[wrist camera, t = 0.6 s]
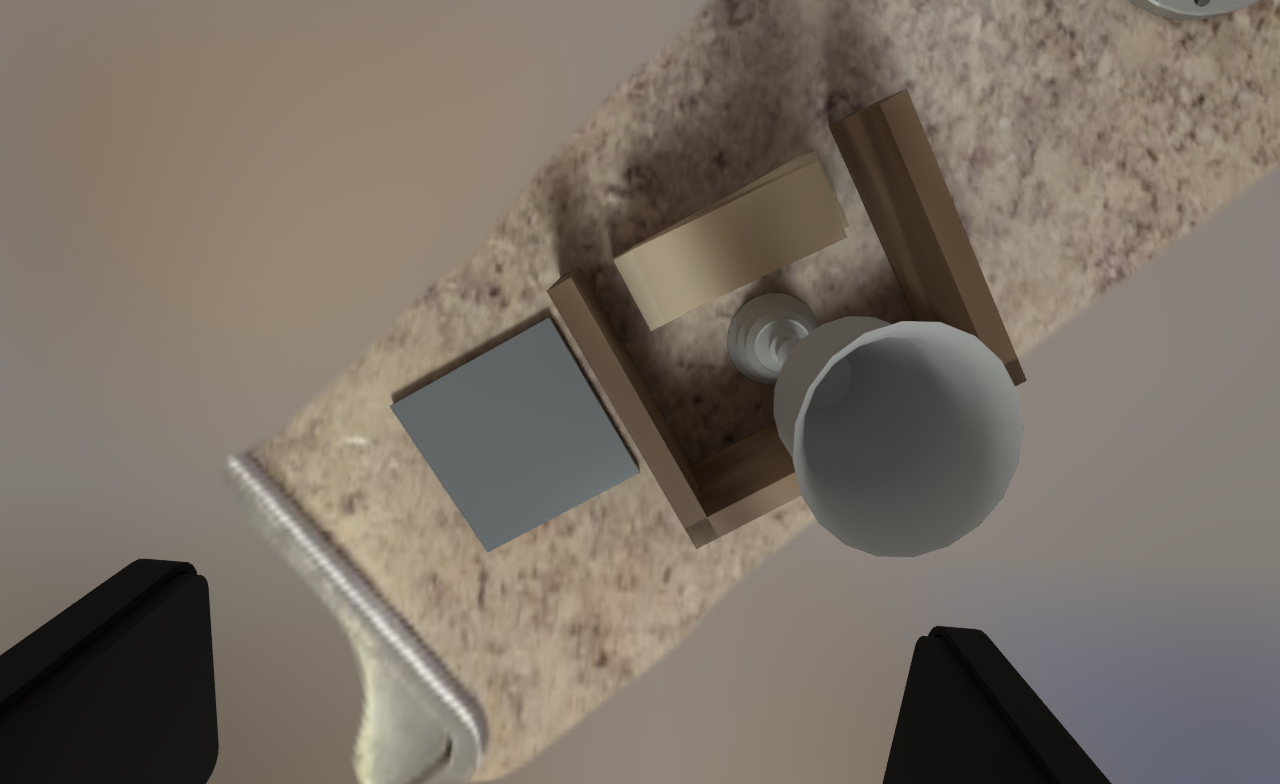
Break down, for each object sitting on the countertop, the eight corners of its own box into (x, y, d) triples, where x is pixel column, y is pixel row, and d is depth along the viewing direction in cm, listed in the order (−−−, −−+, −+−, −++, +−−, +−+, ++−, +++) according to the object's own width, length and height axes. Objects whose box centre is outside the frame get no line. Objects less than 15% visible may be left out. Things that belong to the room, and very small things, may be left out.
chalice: (703, 281, 37) (781, 338, 19) (830, 263, 37) (1023, 303, 19) (719, 411, 38) (803, 572, 21) (839, 394, 38) (1023, 541, 21)
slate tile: (550, 315, 37) (549, 317, 36) (639, 468, 39) (639, 472, 38) (393, 403, 38) (389, 406, 37) (489, 547, 40) (487, 552, 39)
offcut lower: (799, 155, 36) (815, 149, 33) (830, 225, 36) (848, 225, 34) (613, 256, 37) (613, 260, 34) (648, 322, 37) (651, 331, 35)
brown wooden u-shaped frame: (850, 114, 35) (906, 88, 28) (953, 351, 38) (1026, 380, 31) (560, 277, 36) (546, 291, 29) (682, 492, 39) (696, 548, 33)
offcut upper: (800, 165, 33) (817, 160, 30) (827, 235, 34) (846, 237, 31) (630, 246, 34) (631, 249, 31) (661, 313, 34) (664, 322, 31)
